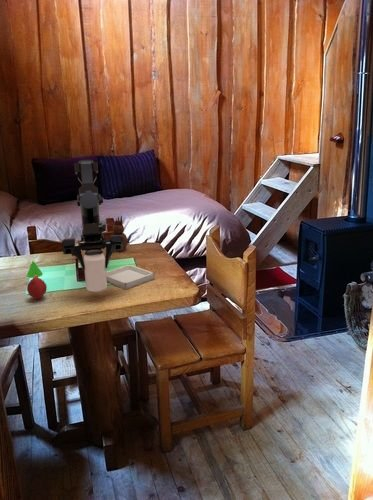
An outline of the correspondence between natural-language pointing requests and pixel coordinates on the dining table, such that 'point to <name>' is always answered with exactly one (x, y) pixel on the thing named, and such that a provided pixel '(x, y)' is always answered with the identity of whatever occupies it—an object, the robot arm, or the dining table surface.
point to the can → (95, 271)
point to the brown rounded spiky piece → (120, 232)
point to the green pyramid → (34, 271)
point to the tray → (129, 276)
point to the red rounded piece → (36, 287)
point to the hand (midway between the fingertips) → (95, 268)
